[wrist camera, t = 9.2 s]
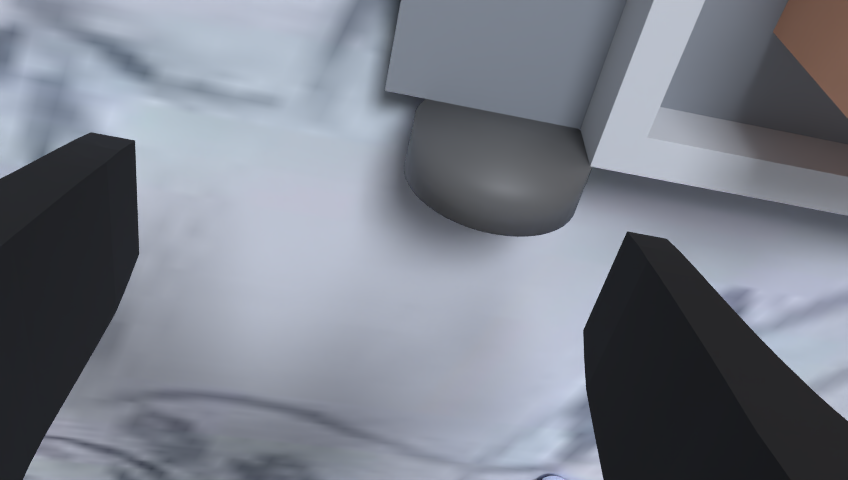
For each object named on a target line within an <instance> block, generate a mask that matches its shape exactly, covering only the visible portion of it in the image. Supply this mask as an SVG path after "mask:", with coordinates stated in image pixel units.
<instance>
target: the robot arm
mask: <svg viewBox="0 0 848 480" xmlns="http://www.w3.org/2000/svg"><path fill="white" fill-rule="evenodd" d="M138 255H139V238H138V210H137V183H136V156H135V141H134V140H129V139H124V138H118V137H113V136H107V135H102V134H97V133H89V134H86V135H84V136H82V137H80V138H78V139H76V140H74V141H72V142H70V143H68V144H66V145H64V146H62V147H60V148H58V149H56V150H54V151H52V152H50V153H49V154H47V155H45V156H43V157H41V158H39V159H37V160H35V161H34V162H32V163H30V164H28V165H26V166H24V167H22V168H20V169H18V170H17V171H15V172H13V173H11V174H9V175H7V176H5V177H3V178H1V179H0V480H23V478H24V476H25V473H26V471H27V469H28V467H29V465H30V463H31V461H32V459H33V457H34V455H35V453H36V451H37V449H38V447H39V445H40V444H41V442H42V440H43V438H44V436H45V434H46V433H47V431H48V429H49V427H50V426H51V424H52V422H53V421H54V419H55V417H56V415H57V414H58V412H59V410H60V408H61V407H62V405H63V403H64V402H65V400H66V398H67V396H68V395H69V393H70V391H71V389H72V388H73V386H74V384H75V383H76V381H77V379H78V377H79V376H80V374H81V372H82V371H83V369H84V367H85V365H86V364H87V362H88V360H89V358H90V357H91V355H92V353H93V352H94V350H95V348H96V346H97V345H98V343H99V341H100V339H101V337H102V336H103V334H104V332H105V330H106V329H107V327H108V325H109V323H110V322H111V320H112V318H113V316H114V314H115V313H116V311H117V308H118V306H119V303H120V301H121V299H122V296H123V294H124V291H125V289H126V287H127V284H128V281H129V279H130V276H131V274H132V271H133V268H134V266H135V263H136V261H137V258H138ZM583 335H584V363H585V378H586V390H587V396H588V402H589V407H590V413H591V418H592V423H593V428H594V434H595V439H596V444H597V449H598V454H599V459H600V464H601V469H602V474H603V479H604V480H848V421H847V420H846V419H845V418H843V417H842V416H841V415H840V414H839V413H837V412H836V411H835V410H834V409H833V408H832V407H831V406H829V405H828V404H827V403H826V402H825V401H824V400H823V399H822V398H821V397H819V396H818V395H817V394H816V393H815V392H814V391H813V390H812V389H811V388H810V387H809V386H808V385H807V384H806V383H805V382H804V381H803V380H802V379H800V378H799V377H798V376H797V375H796V374H795V373H794V372H793V371H792V370H791V369H790V368H789V367H788V366H787V365H786V364H785V363H784V362H783V361H782V360H781V359H780V358H779V357H778V356H777V355H776V354H775V353H774V352H773V351H772V350H771V349H770V348H769V347H768V346H767V345H766V344H765V343H764V342H763V341H762V340H761V339H760V338H759V337H758V336H757V335H756V334H755V333H754V331H753V330H752V329H751V328H750V327H749V326H748V325H747V324H746V323H745V322H744V321H743V320H742V319H741V318H740V317H739V315H738V314H737V313H736V312H735V311H734V310H733V309H732V308H731V307H730V306H729V305H728V303H727V302H726V301H725V300H724V299H723V298H722V297H721V296H720V295H719V294H718V293H717V291H716V290H715V289H714V288H713V287H712V286H711V285H710V284H709V283H708V281H707V280H706V279H705V278H704V277H703V276H702V275H701V274H700V273H699V272H698V270H697V269H696V268H695V267H694V266H693V265H692V264H691V263H690V262H689V261H688V260H687V259H686V258H685V256H684V255H683V254H682V253H681V252H680V251H679V250H678V249H677V248H676V247H675V246H674V245H673V244H672V243H670V242H669V241H668V240H667V239H665V238H659V237H654V236H648V235H643V234H637V233H632V232H627V233H626V236H625V238H624V240H623V242H622V245H621V247H620V249H619V251H618V254H617V256H616V258H615V260H614V263H613V265H612V267H611V269H610V272H609V274H608V276H607V278H606V281H605V283H604V285H603V287H602V290H601V292H600V294H599V296H598V299H597V301H596V303H595V305H594V308H593V310H592V312H591V314H590V317H589V319H588V321H587V323H586V326H585V328H584V330H583ZM542 480H565V479H563V478H561V477H558V476H547V477H545V478H543V479H542Z"/></svg>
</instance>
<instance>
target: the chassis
mask: <svg viewBox="0 0 848 480" xmlns="http://www.w3.org/2000/svg"><path fill="white" fill-rule="evenodd" d="M787 2H788V0H401V3H400V8H399V14H398V19H397V25H396V30H395V36H394V41H393V47H392V52H391V58H390V64H389V69H388V75H387V80H386V86H385V91H389V92H394V93H399V94H404V95H409V96H414V97H419V98H424V99H425V100H424V101H423V102H422V103H421V104H420V105H419V106H418V108H417V110H416V113H415V117H414V122H413V126H412V131H411V136H410V140H409V145H408V150H407V155H406V159H405V164H404V173H405V177H406V180H407V182H408V184H409V186H410V187H411V189H412V190H413V192H414V193H415V194H416V195H417V196H418V197H419V199H420V200H422V201H423V202H424V203H425V204H426V205H427V206H429V207H430V208H432V209H433V210H434V211H436V212H437V213H439V214H441V215H442V216H444V217H446V218H448V219H450V220H452V221H454V222H456V223H459V224H461V225H464V226H466V227H469V228H472V229H475V230H479V231H482V232H487V233H491V234H497V235H504V236H517V237H519V236H535V235H542V234H546V233H550V232H552V231H555V230H557V229H559V228H561V227H563V226H564V225H565V224H566V223H568V222H569V221H570V219H571V218H572V217H573V215H574V213H575V210H576V208H577V205H578V202H579V200H580V197H581V195H582V192H583V189H584V187H585V184H586V182H587V179H588V176H589V174H590V171H591V169H592V167H596V168H601V169H607V170H612V171H617V172H622V173H627V174H633V175H638V176H643V177H648V178H653V179H659V180H664V181H669V182H674V183H680V184H685V185H690V186H695V187H700V188H706V189H711V190H716V191H721V192H726V193H732V194H737V195H742V196H747V197H753V198H758V199H763V200H768V201H773V202H779V203H784V204H789V205H794V206H799V207H805V208H810V209H815V210H820V211H826V212H831V213H836V214H841V215H846V216H848V118H847V117H846V116H845V115H844V114H843V113H842V111H841V110H840V109H839V108H838V107H837V106H836V105H835V103H834V102H833V101H832V100H831V99H830V98H829V96H828V95H827V94H826V93H825V92H824V91H823V89H822V88H821V87H820V86H819V85H818V84H817V82H816V81H815V80H814V79H813V78H812V77H811V75H810V74H809V73H808V72H807V71H806V70H805V69H804V67H803V66H802V65H801V64H800V63H799V62H798V60H797V59H796V58H795V57H794V56H793V55H792V53H791V52H790V51H789V50H788V49H787V48H786V46H785V45H784V44H783V43H782V42H781V41H780V40H779V38H778V37H777V36H776V35H775V34H774V33H773V31H774V29H775V27H776V25H777V23H778V20H779V18H780V16H781V14H782V12H783V10H784V8H785V6H786V4H787ZM579 129H581V130H579Z"/></svg>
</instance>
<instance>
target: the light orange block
mask: <svg viewBox="0 0 848 480" xmlns="http://www.w3.org/2000/svg"><path fill="white" fill-rule="evenodd" d="M773 33H774V34H775V35H776V36H777V37H778V38H779V40H780V41H781V42H782V43H783V44H784V45H785V46H786V48H787V49H788V50H789V51H790V52H791V53H792V55H793V56H794V57H795V58H796V59H797V60H798V62H799V63H800V64H801V65H802V66H803V67H804V69H805V70H806V71H807V72H808V73H809V74H810V75H811V77H812V78H813V79H814V80H815V81H816V82H817V84H818V85H819V86H820V87H821V88H822V89H823V91H824V92H825V93H826V94H827V95H828V96H829V98H830V99H831V100H832V101H833V102H834V103H835V105H836V106H837V107H838V108H839V109H840V110H841V111H842V113H843V114H844V115H845V116H846V117H847V118H848V0H788V2H787V4H786V6H785V8H784V10H783V12H782V14H781V16H780V18H779V20H778V23H777V25H776V27H775V29H774V31H773Z"/></svg>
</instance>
